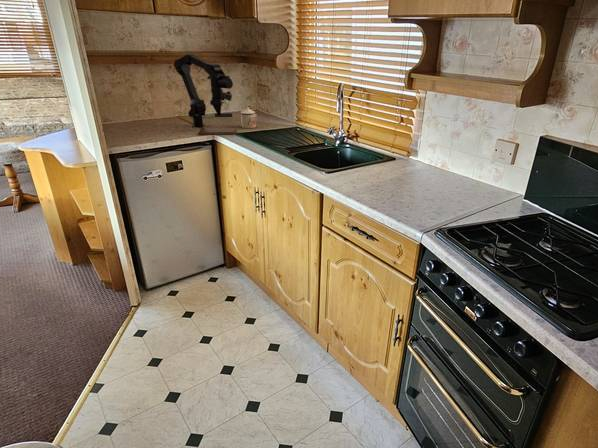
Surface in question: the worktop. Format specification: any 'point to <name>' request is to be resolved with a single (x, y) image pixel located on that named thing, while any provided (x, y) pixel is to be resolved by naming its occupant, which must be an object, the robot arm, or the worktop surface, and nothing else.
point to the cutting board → (217, 132)
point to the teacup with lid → (248, 118)
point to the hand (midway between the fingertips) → (219, 115)
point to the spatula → (217, 115)
